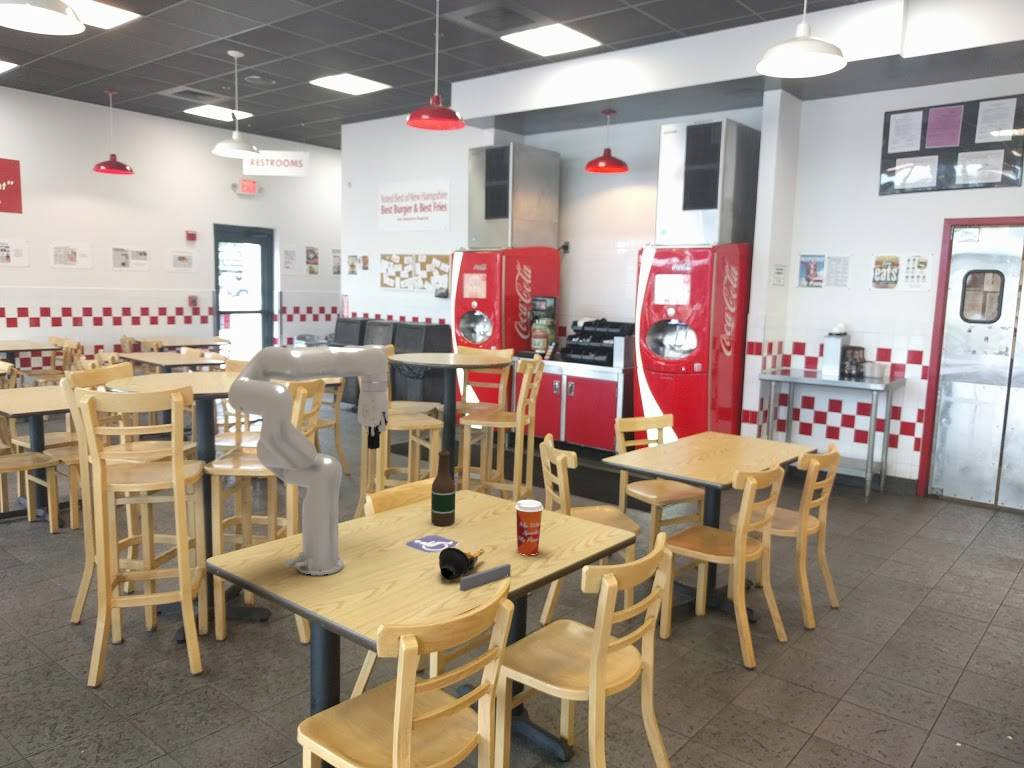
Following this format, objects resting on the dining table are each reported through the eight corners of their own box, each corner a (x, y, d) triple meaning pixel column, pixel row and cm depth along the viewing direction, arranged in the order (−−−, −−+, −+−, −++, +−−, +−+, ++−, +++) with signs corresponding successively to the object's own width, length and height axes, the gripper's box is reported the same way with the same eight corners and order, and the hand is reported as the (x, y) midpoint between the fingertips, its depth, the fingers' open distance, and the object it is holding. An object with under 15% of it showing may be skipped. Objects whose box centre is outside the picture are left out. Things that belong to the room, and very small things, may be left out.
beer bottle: (453, 527, 246) (454, 454, 243) (429, 526, 246) (430, 453, 243) (455, 519, 254) (457, 449, 250) (432, 519, 254) (433, 448, 250)
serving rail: (463, 590, 196) (463, 579, 195) (460, 589, 197) (460, 578, 196) (510, 575, 207) (510, 564, 207) (507, 573, 208) (507, 563, 207)
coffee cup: (518, 558, 220) (519, 507, 218) (510, 548, 228) (512, 499, 226) (545, 556, 222) (547, 506, 220) (537, 546, 230) (539, 498, 228)
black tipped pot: (425, 564, 201) (450, 524, 216) (444, 596, 204) (468, 555, 219) (453, 557, 197) (477, 517, 212) (473, 590, 200) (494, 548, 215)
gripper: (349, 384, 226) (349, 445, 228) (377, 391, 215) (376, 454, 218) (371, 383, 231) (370, 442, 233) (399, 389, 220) (398, 451, 223)
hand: (373, 448), depth 225 cm, fingers closed
